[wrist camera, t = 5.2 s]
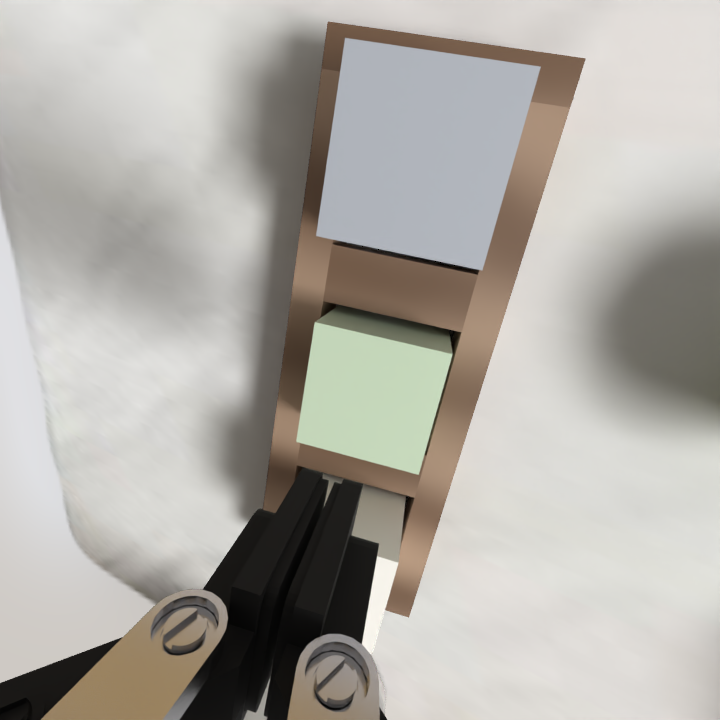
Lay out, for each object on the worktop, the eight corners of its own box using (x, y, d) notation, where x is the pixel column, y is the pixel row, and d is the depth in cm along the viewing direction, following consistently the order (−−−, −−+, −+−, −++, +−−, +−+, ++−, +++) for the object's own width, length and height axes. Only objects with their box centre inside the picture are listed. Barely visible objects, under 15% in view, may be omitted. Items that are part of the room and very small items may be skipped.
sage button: (422, 423, 21) (418, 474, 17) (325, 398, 22) (296, 441, 17) (448, 326, 20) (452, 354, 15) (342, 302, 20) (315, 322, 16)
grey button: (469, 261, 17) (482, 270, 12) (347, 236, 18) (316, 236, 13) (508, 119, 15) (540, 66, 11) (371, 97, 16) (345, 37, 11)
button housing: (411, 574, 25) (408, 617, 22) (274, 533, 26) (254, 569, 23) (559, 89, 16) (585, 58, 14) (344, 57, 17) (327, 21, 15)
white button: (385, 568, 23) (372, 653, 18) (295, 541, 23) (260, 617, 19) (406, 490, 21) (398, 562, 16) (308, 463, 22) (273, 525, 17)
